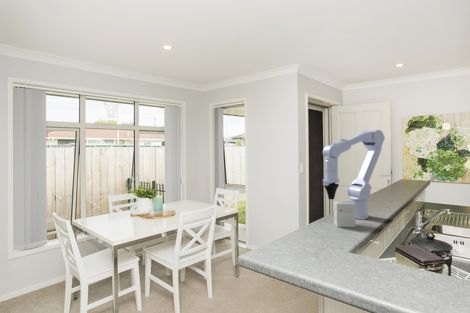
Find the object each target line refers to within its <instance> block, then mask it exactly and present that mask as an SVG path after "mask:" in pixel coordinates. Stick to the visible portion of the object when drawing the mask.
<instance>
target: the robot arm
mask: <svg viewBox="0 0 470 313" xmlns="http://www.w3.org/2000/svg"><path fill="white" fill-rule="evenodd" d="M384 141H385V135H384V132H383V131H382V130H381V129H375V130H363V131H360V132H359V133H357V134H355V135H353V136H351V137H350V138H348V139H347V138H339V140H338V141H336V142H332V143H331V144H329V145H326V146H324V148H323V150H322V152H321V153H322V155H323V158H324V159H323V160H324V179H322V186H324V188H325V190H326V193H327V197H328V200H335V197H336V192H337V190H338V187H339V186H340V184H339V183H340V178H339V176H338V175H339V168H338V167H339V166H338V165H339V160H338V159H339V157H341V156H340V155H341V154H342V153H345V152H347V151H349V150H350V149H351V147H352V146H354V145H356V144H359V143H362V144H363V145H364V147H365V148H366V149H367V154H366V156H365V159H364V161H363V163H362V166H361V168H360V170H359V172H358V175H357V178H356V179H354V180H353V181H351V184H350V185H349V186H348V188H347V189H346V192H347V195H348V196H349V199H350V201H352V202H353V203H355V219H357V220H358V219H359V220H366V219H369V217H371V214H369V202H368V199H369V198H370V196H371V190H372V186H371V184H370V183H369V182H370V180H371V177H372V175H373V173H374V169H375V167H376V165H377V163H378V161H379V157H380V155H381V151H382V149H383V148H382V147H383V143H384Z"/></svg>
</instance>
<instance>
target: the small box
mask: <svg viewBox="0 0 470 313" xmlns="http://www.w3.org/2000/svg"><path fill="white" fill-rule="evenodd" d="M333 224H334V225H335V226H336V227H337V228H356V218H355V203H353V202H352V201H351V200H347V201H346V200H343V201H342V200H338V201H337V200H336V201H335V200H334V201H333Z"/></svg>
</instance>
